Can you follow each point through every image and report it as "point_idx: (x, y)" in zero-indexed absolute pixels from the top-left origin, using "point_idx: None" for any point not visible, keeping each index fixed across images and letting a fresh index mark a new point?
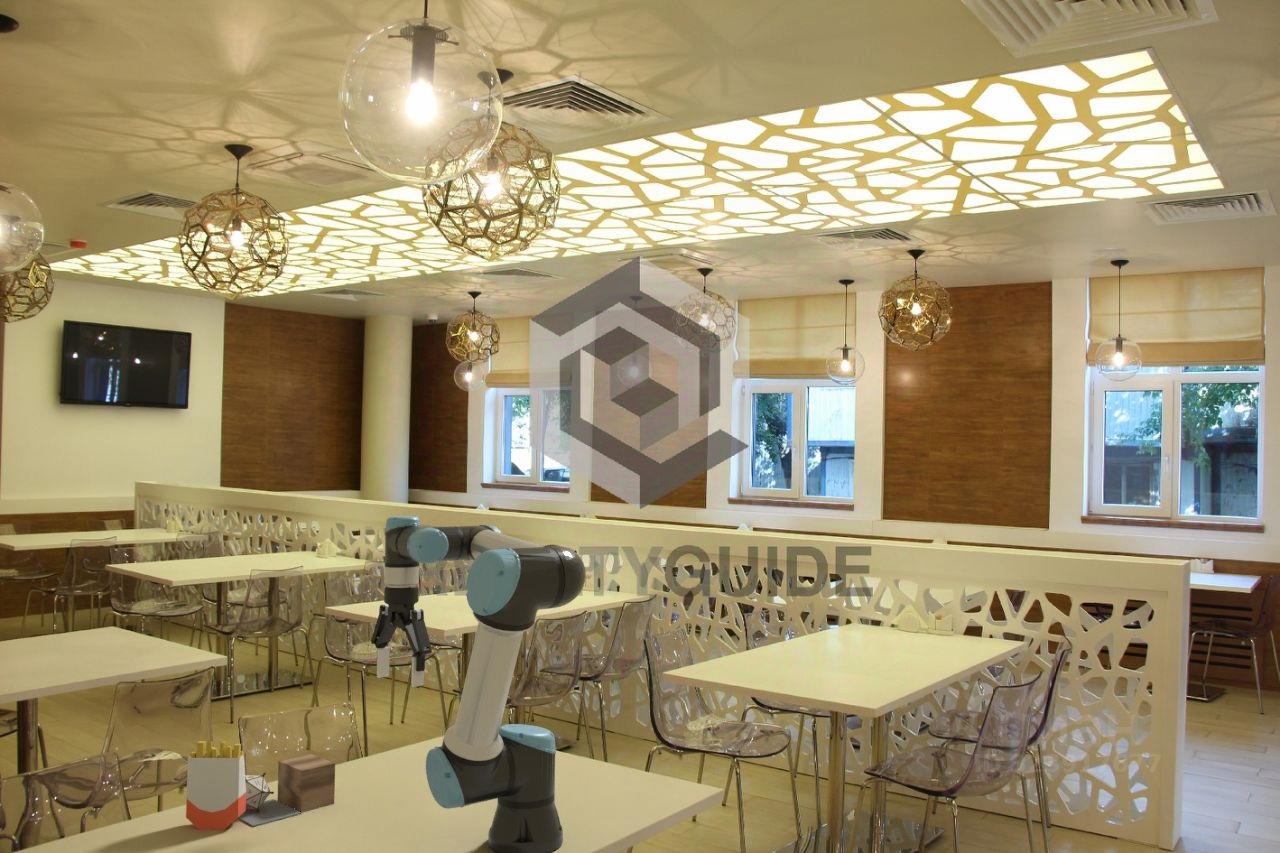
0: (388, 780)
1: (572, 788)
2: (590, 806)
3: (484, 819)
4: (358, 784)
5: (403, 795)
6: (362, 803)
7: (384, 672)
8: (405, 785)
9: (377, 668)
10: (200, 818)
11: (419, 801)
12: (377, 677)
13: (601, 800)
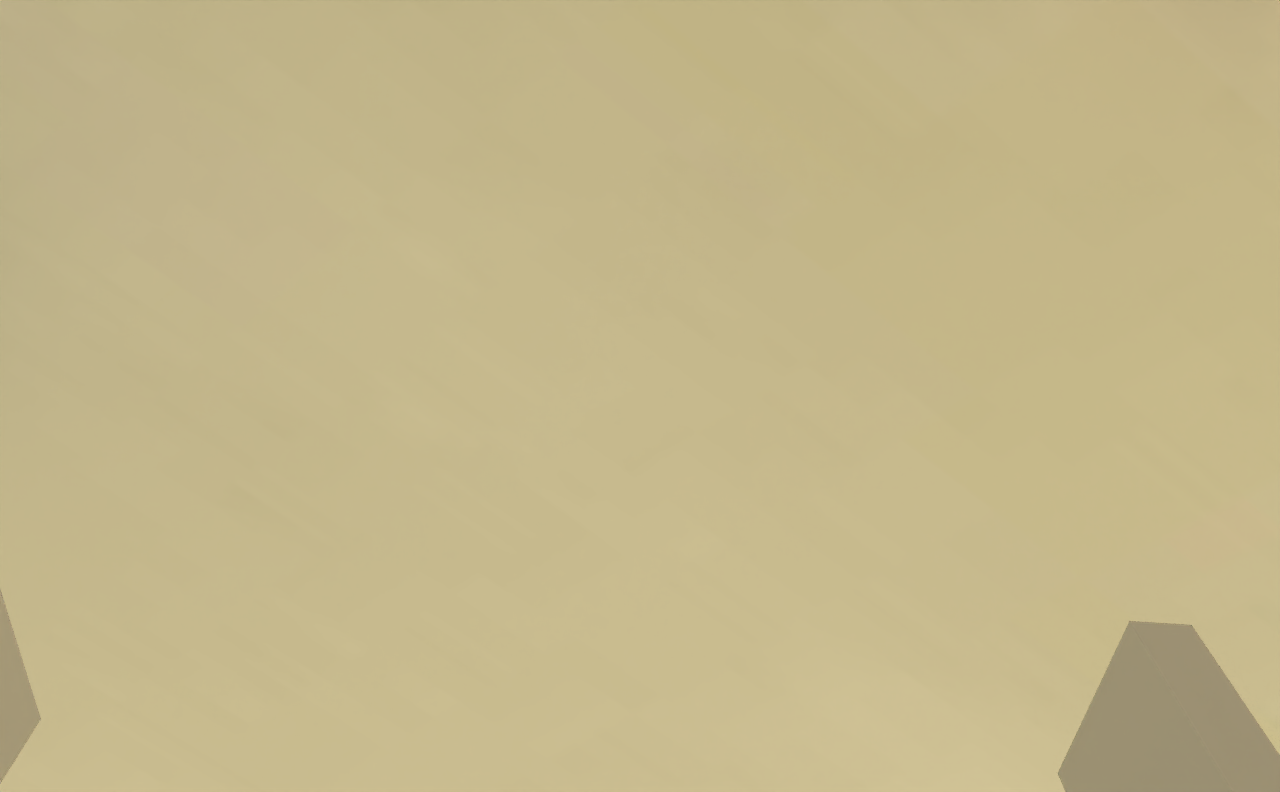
0: (1072, 386)
1: (271, 753)
2: None
3: (170, 302)
4: (1186, 249)
5: (813, 285)
6: (916, 48)
7: (1123, 779)
8: (928, 389)
9: (1272, 770)
10: None
11: (662, 276)
12: (1173, 626)
13: (60, 727)
